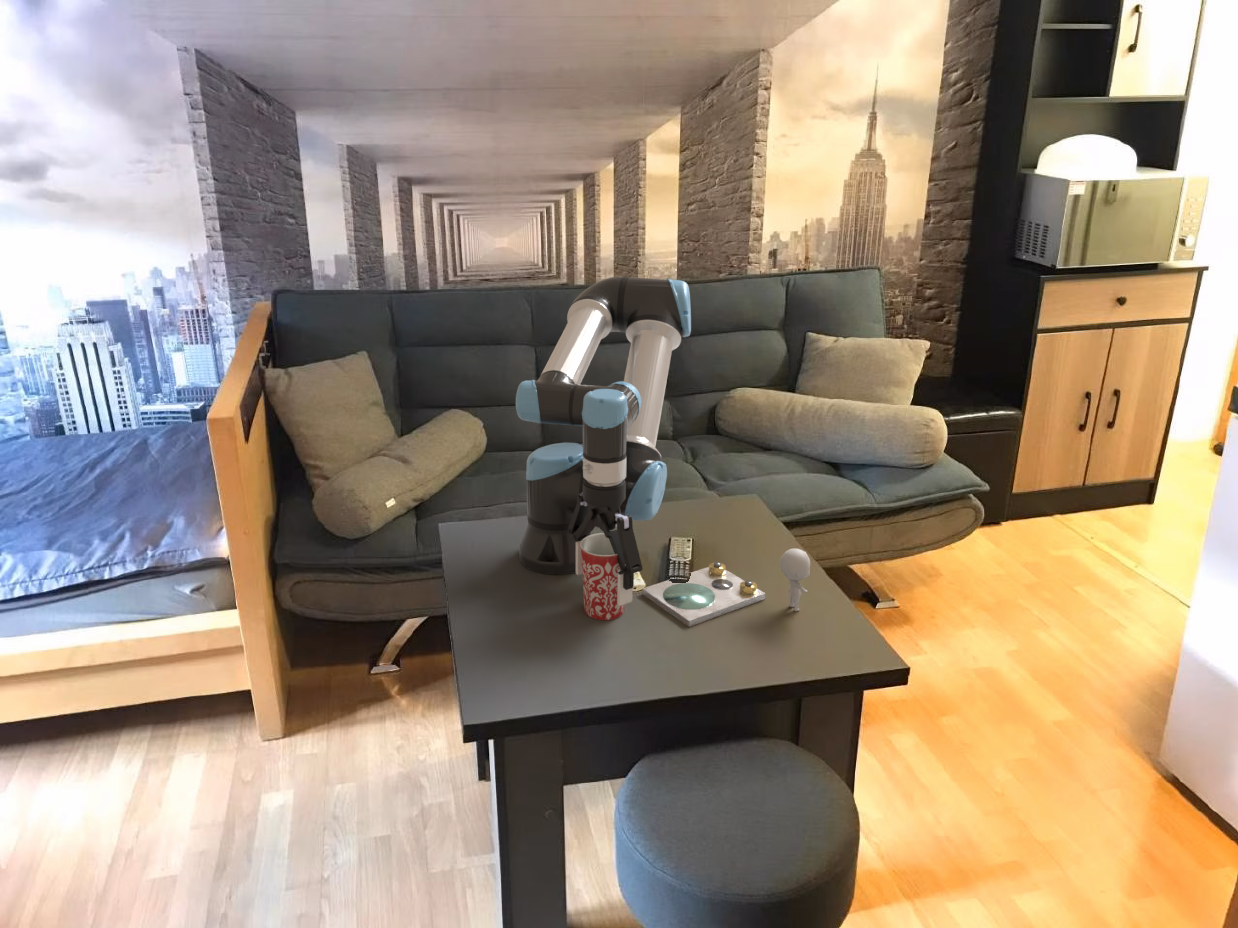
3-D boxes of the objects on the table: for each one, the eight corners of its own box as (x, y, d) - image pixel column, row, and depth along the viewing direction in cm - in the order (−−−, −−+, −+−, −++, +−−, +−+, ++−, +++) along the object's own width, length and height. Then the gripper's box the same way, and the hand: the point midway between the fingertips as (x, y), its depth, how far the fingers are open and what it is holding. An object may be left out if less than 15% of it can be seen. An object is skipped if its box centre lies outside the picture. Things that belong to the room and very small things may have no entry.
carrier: (642, 594, 181) (642, 579, 180) (716, 569, 191) (717, 555, 190) (689, 626, 171) (689, 611, 169) (764, 599, 180) (765, 584, 179)
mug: (634, 621, 172) (635, 553, 167) (583, 625, 170) (584, 556, 166) (620, 587, 184) (621, 522, 179) (573, 590, 182) (573, 525, 177)
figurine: (815, 616, 174) (821, 557, 170) (789, 622, 172) (795, 562, 168) (792, 596, 181) (797, 538, 177) (767, 601, 179) (772, 542, 175)
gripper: (548, 461, 175) (549, 565, 183) (628, 508, 156) (625, 622, 164) (583, 453, 179) (583, 555, 187) (665, 498, 160) (661, 610, 168)
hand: (603, 587), depth 176 cm, fingers open, 13 cm apart
